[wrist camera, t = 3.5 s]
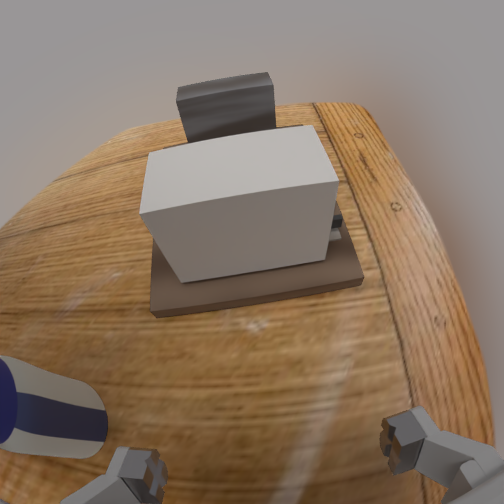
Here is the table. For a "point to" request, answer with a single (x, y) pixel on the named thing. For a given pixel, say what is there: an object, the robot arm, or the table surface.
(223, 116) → the gauge stand
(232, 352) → the table surface
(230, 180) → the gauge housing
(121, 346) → the table surface
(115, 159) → the table surface
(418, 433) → the robot arm
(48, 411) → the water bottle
